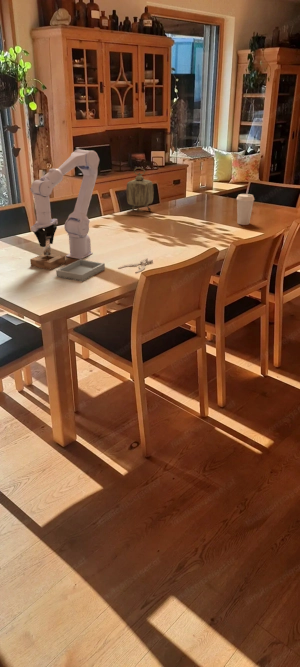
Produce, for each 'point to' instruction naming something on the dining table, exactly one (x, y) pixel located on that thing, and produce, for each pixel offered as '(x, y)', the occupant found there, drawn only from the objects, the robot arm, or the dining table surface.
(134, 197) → the tabletop clock
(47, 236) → the pin
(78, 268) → the tray
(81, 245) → the robot arm
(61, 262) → the brown square frame
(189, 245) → the dining table surface
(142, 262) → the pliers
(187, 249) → the dining table surface
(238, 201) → the coffee cup
